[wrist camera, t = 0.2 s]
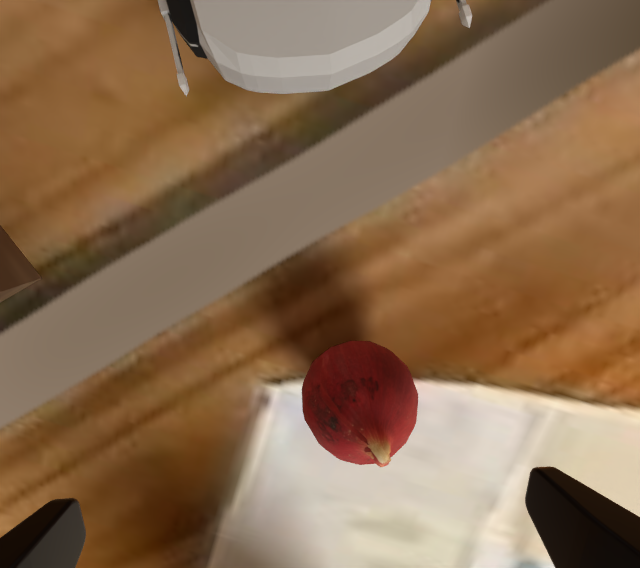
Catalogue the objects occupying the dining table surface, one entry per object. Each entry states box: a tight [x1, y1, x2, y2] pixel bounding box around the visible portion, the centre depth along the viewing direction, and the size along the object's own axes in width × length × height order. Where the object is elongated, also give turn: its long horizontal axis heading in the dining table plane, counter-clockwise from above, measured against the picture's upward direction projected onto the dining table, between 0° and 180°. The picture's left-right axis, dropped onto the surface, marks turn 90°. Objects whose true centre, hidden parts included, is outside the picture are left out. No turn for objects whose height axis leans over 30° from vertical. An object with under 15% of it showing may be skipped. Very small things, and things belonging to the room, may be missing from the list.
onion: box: [302, 341, 418, 467], centre depth 18 cm, size 6×6×8 cm
